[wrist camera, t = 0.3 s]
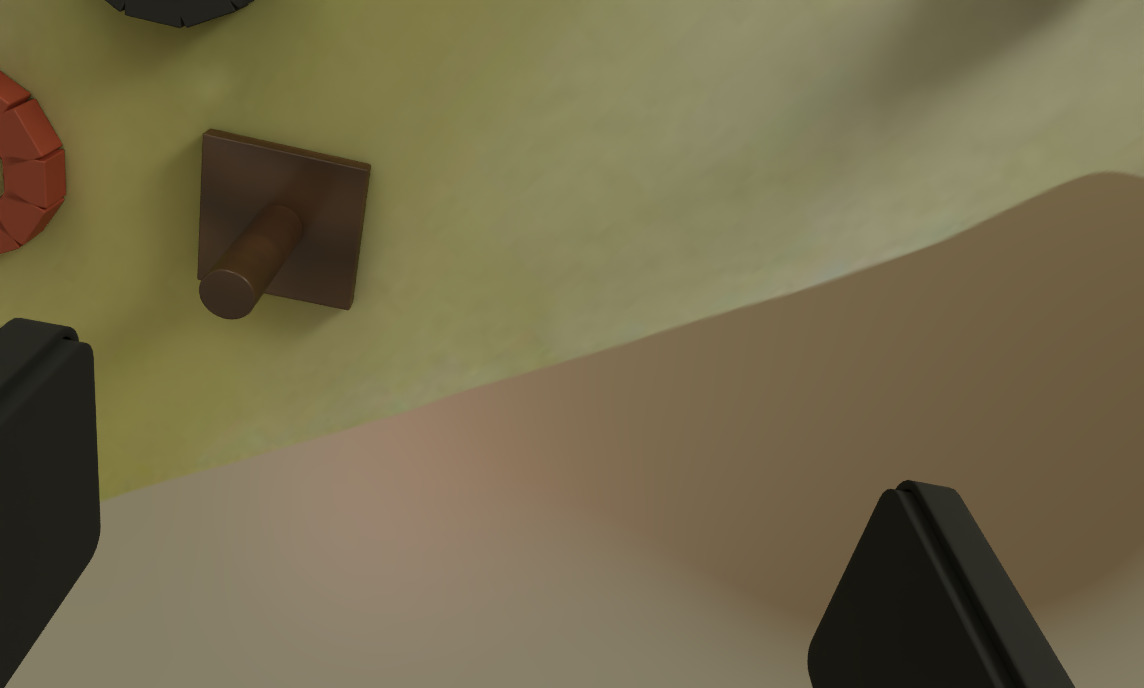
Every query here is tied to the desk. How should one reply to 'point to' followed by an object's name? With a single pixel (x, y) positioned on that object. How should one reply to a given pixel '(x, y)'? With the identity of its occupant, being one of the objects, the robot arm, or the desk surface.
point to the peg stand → (277, 224)
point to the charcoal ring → (178, 10)
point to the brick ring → (27, 167)
